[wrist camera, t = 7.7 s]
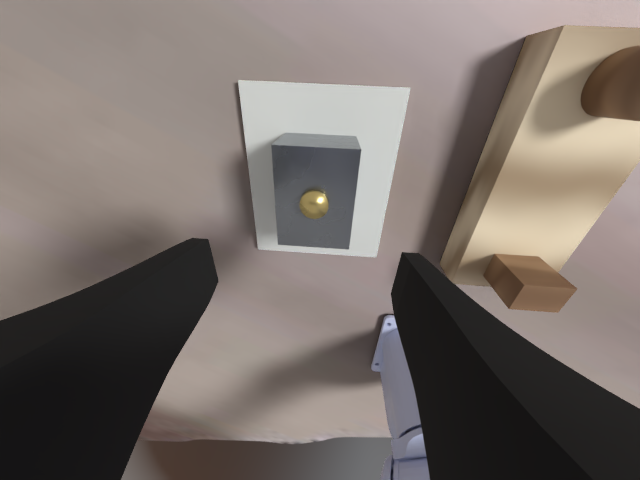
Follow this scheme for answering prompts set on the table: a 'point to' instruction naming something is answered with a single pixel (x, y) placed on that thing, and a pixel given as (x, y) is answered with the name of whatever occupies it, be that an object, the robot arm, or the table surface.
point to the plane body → (549, 164)
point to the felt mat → (330, 119)
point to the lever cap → (315, 188)
